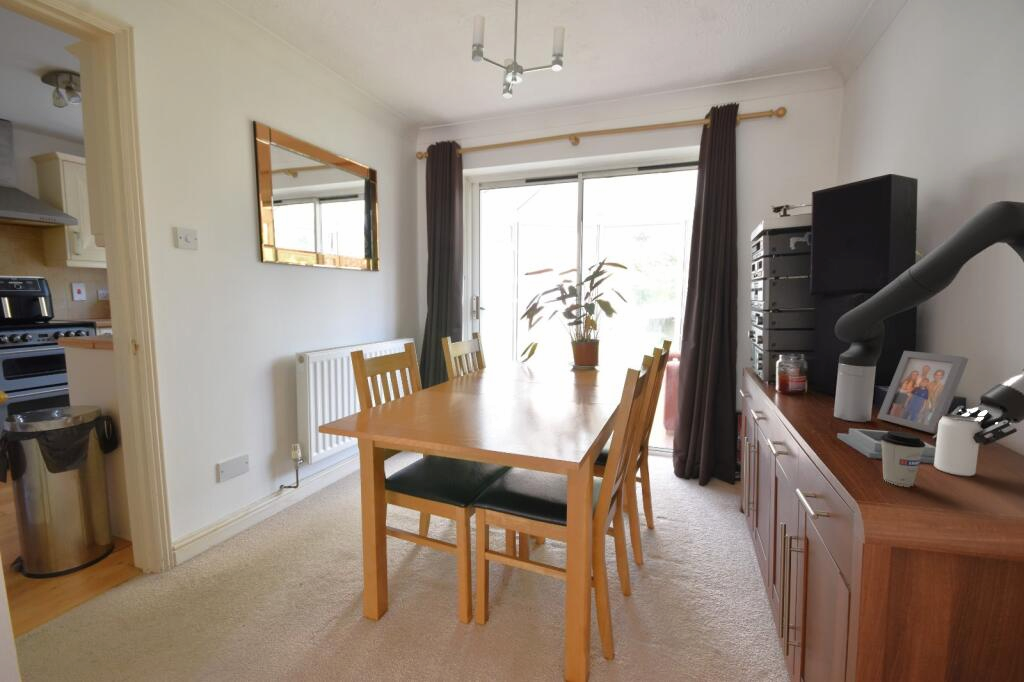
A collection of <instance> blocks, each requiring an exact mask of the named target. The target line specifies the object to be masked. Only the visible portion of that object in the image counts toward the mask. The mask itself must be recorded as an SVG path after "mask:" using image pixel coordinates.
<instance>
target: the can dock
mask: <svg viewBox="0 0 1024 682" xmlns="http://www.w3.org/2000/svg"><path fill="white" fill-rule="evenodd" d="M888 431H889V430H887V431H886V430H875V429H874V430H873V429H866V428H865V429H863V428H852V427H849V428H848V433H843V432H842V433H841V432H837V434H836V435H837V436H836V437H837V439H839V440H840V441H842V442H844V443H846V445H848V446H850V447H852V448H853V449H855V450H857V451H858V452H860V453H861V454H862V455H865V456H866V457H867V458H869V459H877V458H878V459H879V460H882V440H881V439H880V437H881V436H882V435H884V434H887V433H888ZM923 442H924V443H925V447H924V448H923V452H922V455H921V459H920V462H919V463H922V462H923V463H926V464H933V465H934V460H935V451H936V446H934V445H931V444H930V443H927V442H926V441H923ZM878 459H877V460H878Z"/></svg>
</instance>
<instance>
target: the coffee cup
mask: <svg viewBox="0 0 1024 682" xmlns="http://www.w3.org/2000/svg"><path fill="white" fill-rule="evenodd" d="M887 431H888V433H887V434H884V435H882V436H881V437H880V439H881V440H882V459H881V460H882V476H883V477H882V478H883V479H884V480H885V482H886V481H887V482H886V483H888V482H889V483H888V484H890V483H891V484H890V485H893V484H894V486H897V485H898V487H903V486H904V487H905V488H911V487H910V486H912V487H913V486H914V482H915V479H916V475H917V471H918V468H919V466H920V463H921V462H920V459H921V455H922V452H923V448H924V447H925V443H926V442H925V441H923V440H921V437H919V436H918V435H916V434H914V433H909V432H905V431H899V430H890V431H889V430H887ZM924 442H925V443H924ZM884 480H883V481H884ZM904 487H903V488H904Z"/></svg>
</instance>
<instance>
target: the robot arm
mask: <svg viewBox="0 0 1024 682" xmlns="http://www.w3.org/2000/svg"><path fill="white" fill-rule="evenodd" d="M998 243H1001V244H1007V246H1009V247H1010V248H1011V249H1012V250H1013V251H1014V252H1015V253H1016V254H1017V255H1018V256H1019V257H1020V259H1021V261H1022V262H1023V263H1024V202H1021V201H1012V200H1002V201H1001V200H1000V201H996V202H993V203H990V204H988V205H986V206H984V207H983V208H981V209H979V210H978V211H977V212H976V213H974V214H973V216H971V217H970V218H969V219H968V220H967V221H966V222H965V223H963V225H961V227H959V228H958V229H957V230H956V231H955V232H954V233H953V234H952V235H950V236H949V238H947V239H946V240H945V241H944V242H942V243H941V244H940V245H938V246H937V247H935V248H934V249H933V250H932V251H930V252H929V253H928V254H927V255H925V256H924V257H923V258H921V259H920V260H919V261H916V263H914V264H913V265H912V266H910V267H909V268H907V269H906V270H905V271H904V272H902V273H901V274H900V275H898V276H897V277H896V278H895V279H893V280H892V281H891V282H890V283H888V284H887V285H886V286H884V287H883V288H882V289H880V290H879V291H878V292H877V293H875V294H874V295H872V296H871V297H870V298H869V299H867V300H866V301H864V302H862V303H861V304H859V305H857V306H856V307H854V308H853V309H851V310H849V311H848V312H846V313H845V314H843V315H842V316H840V317H839V318H838V320H837V321H836V324H835V326H834V334H835V336H836V337H837V338H838V340H841V341H843V342H845V343H851V344H850V347H849V348H848V349H847V350H846V351H844V352H842V353H840V355H839V358H838V366H837V367H838V368H837V379H836V388H835V389H836V390H835V400H834V409H833V410H834V411H833V416H834V417H835V418H837V419H839V420H840V419H841V420H844V421H849V422H857V423H867V422H866V421H870V422H871V418H872V409H873V400H874V391H875V390H874V389H875V388H874V387H875V378H876V369H877V362H878V359H880V356H881V355H882V354H881V353H882V348H883V343H884V336H885V325H884V322H883V321H884V320H885V319H887V318H890V317H891V316H893V315H897V314H900V313H901V312H902V313H903V312H905V311H908V310H911V309H912V308H915V307H917V306H920V305H922V304H923V303H925V302H927V301H929V300H930V299H931V298H934V297H935V296H936V295H938V294H939V293H941V292H943V290H945V289H946V288H948V287H949V286H950V285H951V283H952V282H954V280H955V279H956V278H957V276H958V274H959V273H960V271H961V270H962V268H963V267H964V266H965V265H966V264H967V263H968V262H969V261H970V260H971V259H973V258H974V257H975V256H977V255H979V254H980V253H982V252H983V251H985V250H986V249H988V248H990V247H991V246H994V245H995V244H998ZM979 400H980V404H977V405H976V406H972V407H971V408H966V407H965V406H964V405H958V406H957V407H956V408H955V409H954V410H953V411H951V413H950V414H955V415H963V416H968V417H973V418H976V420H975V421H977V419H978V420H979V421H978V424H979V426H980V432H977V433H975V434H974V437H973V439H974V440H975V442H976V443H977V444H978V443H979V444H982V445H983V446H988V445H990V444H992V443H994V442H997V441H999V440H1002V439H1003V438H1006V437H1008V436H1010V435H1012V434H1015V433H1017V431H1018V429H1017V428H1016V427H1015V426H1014V425H1013V424H1019V423H1021V422H1023V421H1024V368H1023V369H1022V370H1019V371H1018V372H1016V373H1014V374H1012V375H1010V376H1009V377H1007V378H1005V379H1004V380H1002V381H1001V382H999V383H998V384H996V385H995V386H994V387H992V388H991V389H989V390H988V391H986V392H985V393H983V394H982V395H980V398H979ZM991 435H992V436H991ZM931 440H932V441H933V442H934V443H935V444H936V441H937V433H936V434H935V435H933V436H932V437H931Z"/></svg>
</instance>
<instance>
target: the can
mask: <svg viewBox="0 0 1024 682" xmlns="http://www.w3.org/2000/svg"><path fill="white" fill-rule="evenodd" d="M941 416H942V417H941V418H940V420H939V421H938V425H937V426H938V427H937V433H936V434H937V441H936V443H935V447H936V451H935V460H934V464H933V466H934V467H935V469H937V470H938V471H940V472H943V473H946V474H949V475H952V476H953V475H954V476H959V477H972V476H974V475H975V474H976V471H977V462H978V455H979V447H980V443H978V444H977V443H976V442H975V440H974V439H973V437H974V434H975V433H977V432H980V426H979V424H978V421H979V420H978V419H977V421H975V420H976V418H973V417H968V416H963V415H955V414H951V413H944V414H941Z"/></svg>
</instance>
